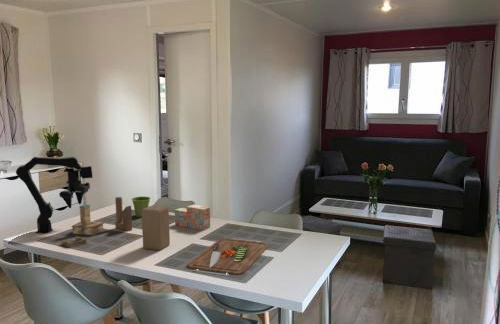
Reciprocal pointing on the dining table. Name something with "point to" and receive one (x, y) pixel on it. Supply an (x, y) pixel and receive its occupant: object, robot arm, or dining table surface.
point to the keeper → (78, 242)
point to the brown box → (88, 228)
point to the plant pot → (140, 204)
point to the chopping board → (228, 256)
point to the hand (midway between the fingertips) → (75, 206)
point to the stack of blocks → (193, 217)
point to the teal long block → (85, 215)
